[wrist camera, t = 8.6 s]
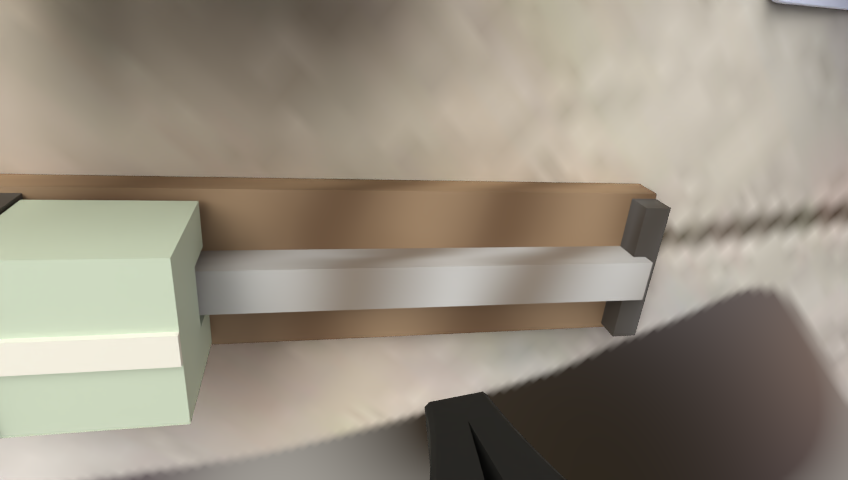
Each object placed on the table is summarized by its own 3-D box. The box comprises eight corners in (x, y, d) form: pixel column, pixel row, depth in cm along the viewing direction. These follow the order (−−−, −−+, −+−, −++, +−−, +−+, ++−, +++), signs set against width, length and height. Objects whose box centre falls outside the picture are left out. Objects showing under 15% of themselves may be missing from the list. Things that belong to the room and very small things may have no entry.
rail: (639, 183, 22) (746, 247, 17) (607, 311, 24) (691, 401, 19) (-50, 173, 17) (-213, 259, 12) (-4, 334, 19) (-121, 466, 14)
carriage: (198, 201, 17) (168, 261, 13) (211, 342, 20) (189, 428, 16) (20, 199, 16) (-68, 265, 12) (55, 349, 18) (-10, 444, 15)
